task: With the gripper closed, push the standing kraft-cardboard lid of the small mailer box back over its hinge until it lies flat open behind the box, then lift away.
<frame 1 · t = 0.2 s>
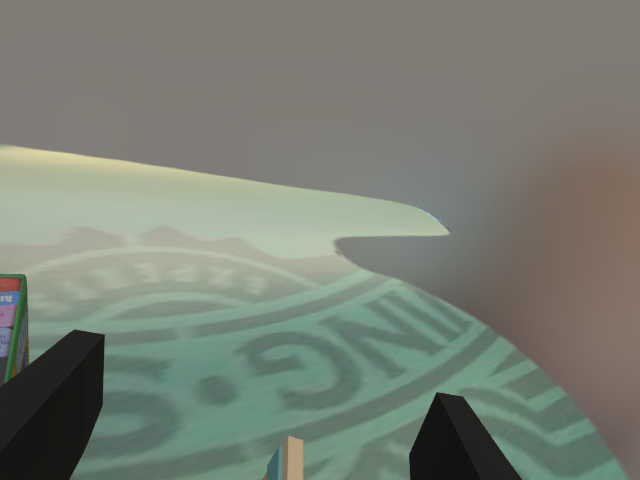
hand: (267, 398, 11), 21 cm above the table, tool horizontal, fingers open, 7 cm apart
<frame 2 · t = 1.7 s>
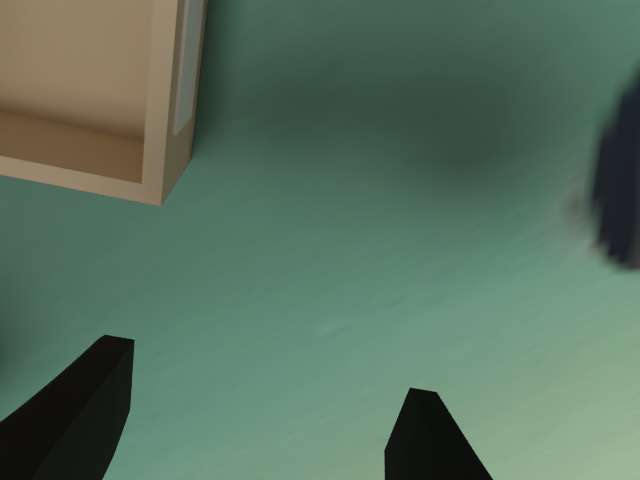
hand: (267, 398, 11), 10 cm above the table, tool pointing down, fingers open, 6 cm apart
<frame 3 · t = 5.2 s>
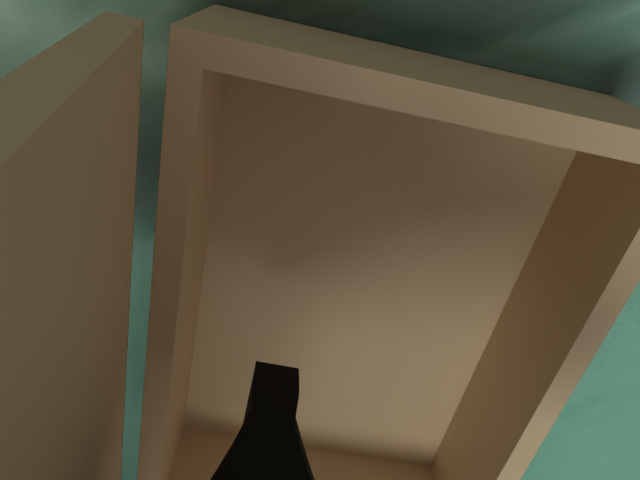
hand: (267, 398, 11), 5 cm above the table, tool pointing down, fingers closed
mailer box: (352, 288, 16), on the table
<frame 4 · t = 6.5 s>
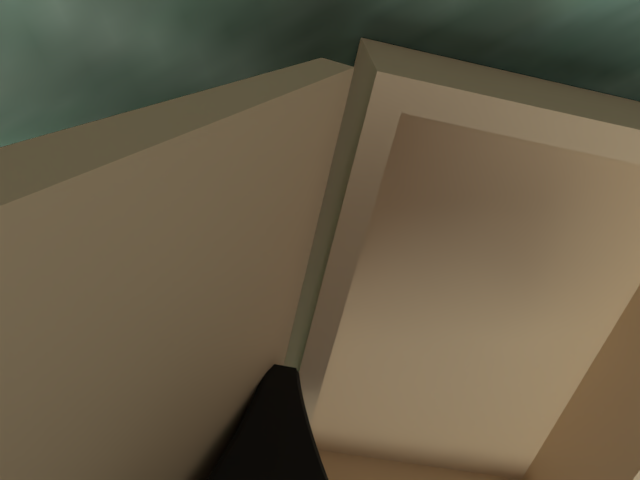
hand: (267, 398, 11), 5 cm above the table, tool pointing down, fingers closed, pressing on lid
mailer box: (461, 309, 16), on the table
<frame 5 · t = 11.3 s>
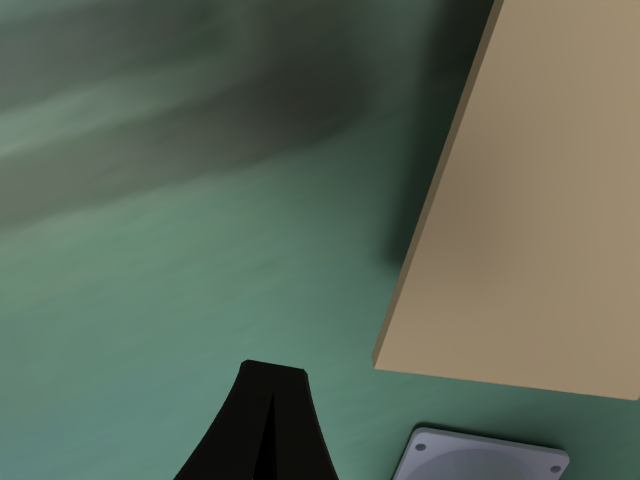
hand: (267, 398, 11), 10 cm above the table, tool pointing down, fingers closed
lid: (598, 202, 15), point 4 cm above the table, hinge at 175.6°
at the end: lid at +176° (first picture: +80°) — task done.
